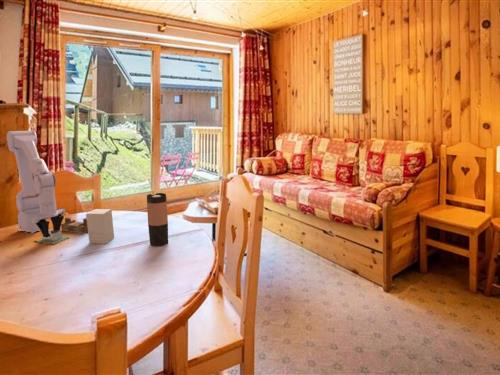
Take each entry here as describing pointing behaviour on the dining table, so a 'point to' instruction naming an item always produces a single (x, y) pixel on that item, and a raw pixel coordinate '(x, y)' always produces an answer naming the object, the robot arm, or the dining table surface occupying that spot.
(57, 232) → the lever cap
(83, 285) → the dining table surface
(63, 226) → the plane body
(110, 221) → the supplement box
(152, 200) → the travel mug
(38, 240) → the felt mat
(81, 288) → the dining table surface
